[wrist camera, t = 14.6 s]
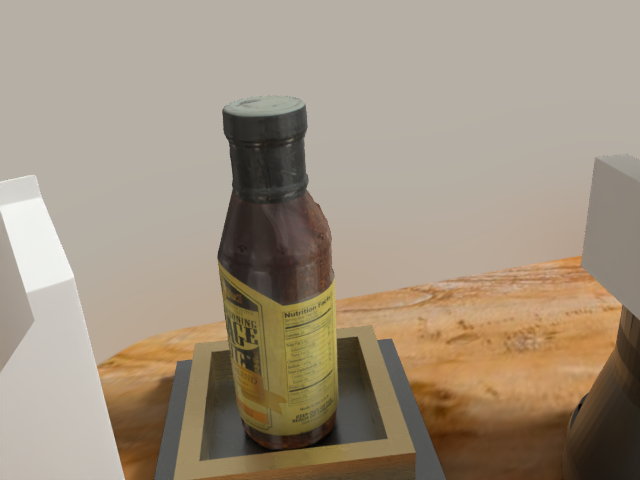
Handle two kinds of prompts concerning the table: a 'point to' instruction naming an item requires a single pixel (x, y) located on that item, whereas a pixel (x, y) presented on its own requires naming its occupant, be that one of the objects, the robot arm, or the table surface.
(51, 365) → the milk carton
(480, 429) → the table surface
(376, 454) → the plate
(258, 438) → the sauce bottle
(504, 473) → the table surface
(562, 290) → the table surface
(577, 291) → the table surface
